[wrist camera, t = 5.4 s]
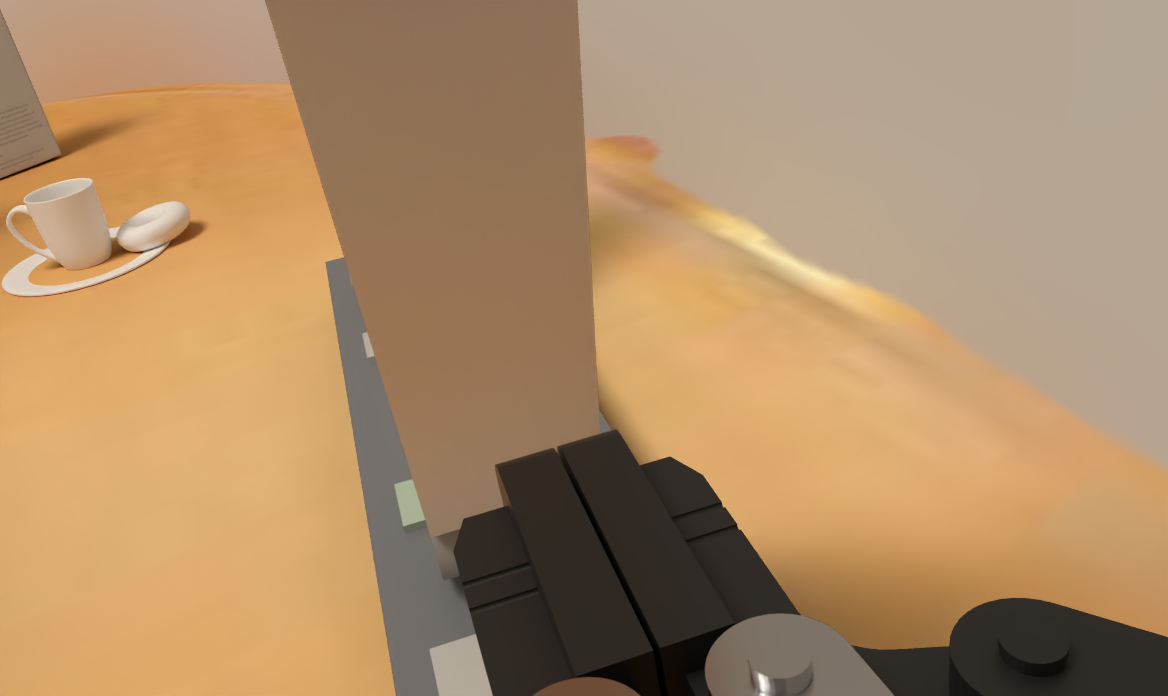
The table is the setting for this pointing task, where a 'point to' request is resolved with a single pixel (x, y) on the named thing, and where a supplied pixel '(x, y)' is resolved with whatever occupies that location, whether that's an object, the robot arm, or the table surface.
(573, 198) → the orange switch
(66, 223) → the teacup and saucer
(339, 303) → the switch panel
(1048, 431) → the table surface
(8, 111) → the skincare box
